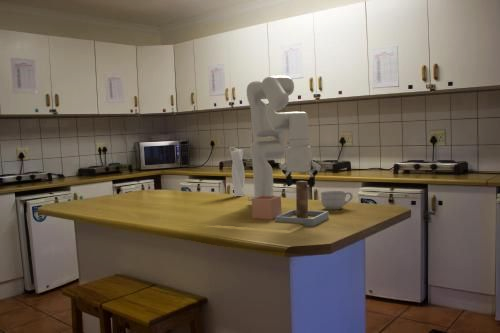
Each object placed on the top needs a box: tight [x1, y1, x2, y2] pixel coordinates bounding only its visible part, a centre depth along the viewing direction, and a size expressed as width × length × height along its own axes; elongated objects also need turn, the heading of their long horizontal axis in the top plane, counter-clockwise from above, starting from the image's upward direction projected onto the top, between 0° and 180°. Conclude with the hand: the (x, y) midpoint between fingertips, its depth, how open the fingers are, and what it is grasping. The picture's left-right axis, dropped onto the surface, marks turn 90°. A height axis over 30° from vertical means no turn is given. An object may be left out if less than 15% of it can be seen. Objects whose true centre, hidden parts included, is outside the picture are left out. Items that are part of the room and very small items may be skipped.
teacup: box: [320, 190, 354, 210], centre depth 212 cm, size 14×11×8 cm
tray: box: [274, 209, 330, 227], centre depth 189 cm, size 16×16×3 cm
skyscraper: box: [229, 146, 246, 198], centre depth 266 cm, size 8×8×28 cm
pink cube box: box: [251, 195, 283, 220], centre depth 197 cm, size 9×9×9 cm
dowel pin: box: [295, 180, 309, 218], centre depth 189 cm, size 4×4×15 cm
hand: (300, 186), depth 189 cm, fingers open, 9 cm apart
